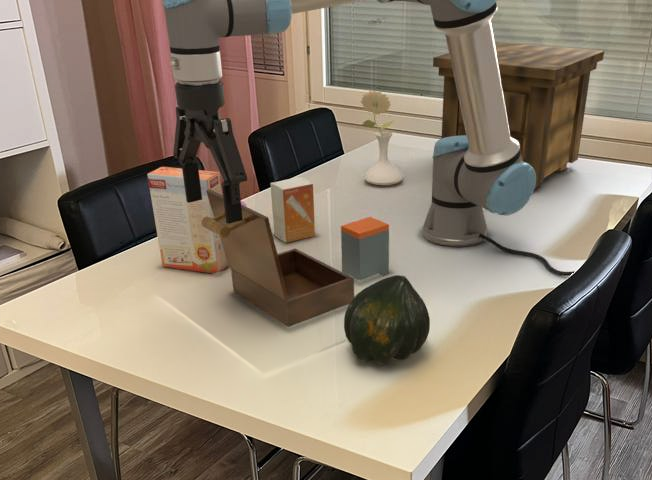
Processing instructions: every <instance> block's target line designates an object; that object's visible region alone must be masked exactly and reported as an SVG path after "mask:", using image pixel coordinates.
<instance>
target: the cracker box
mask: <svg viewBox="0 0 652 480" xmlns="http://www.w3.org/2000/svg"><path fill="white" fill-rule="evenodd" d="M146 175H147V181H148V188H149V193H150V199H151V205H152V211H153V217H154V224H155V229H156V237H157V241H158V242H157V243H158V246H159V247H158V248H159V252H160V259H161V265H162V267H164V268H172V269H178V270H187V271H192V272H193V271H194V272H201V273H207V274H212V275H213V274H216V273H219V272H222V271H224V270H225V269H226V268H229V266H228V262H227V259H226V255H225V252H224V249H223V245H222V242H221V239H220V236H219V235H217V234H215V233H214V232H212V231H210V230H208V229H206V228H205V227H203V226H202V219H203V218H204V217H210V218H213V217H214V215H213V212H212V209H211V205H210V202H209V199H208V195H207V192H206V191H207V190H209V189H210V190H212V191H214V192H217V193H219V194H221V195H223V189H222V185H221V184H222V182H221V181H222V180H221V173H220V171H213V170H212V171H211V170H203V169H202V170H201V169H199V177H200V185H201V193H202V200H199V201H195V202H190V203H188V202H187V200H186V193H185V186H184V178H183V171H182V167H181V168H180V167H171V166H170V167H169V166H159V167H158V168H157V169H155V170H152V171H150V172H148V173H147V174H146Z"/></svg>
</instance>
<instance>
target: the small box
mask: <svg viewBox="0 0 652 480" xmlns="http://www.w3.org/2000/svg"><path fill="white" fill-rule="evenodd" d="M269 185H270V195H271V208H272V209H271V211H272V223H273V235H274V236H275V237H276V238H278V239H279V240H280V241H282V242H284V243H286V244H287V243H291V242H295V241H299V240H304V239H309V238H314V237H316V226H315V225H316V223H315V222H316V221H315V201H314V199H315V198H314V197H315V196H314V183H312V182H310V181H309V180H307V179H305V178H304V177H301V176H298V177H294V178H288V179H282V180H279V181H273V182H270V184H269Z"/></svg>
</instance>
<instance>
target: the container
mask: <svg viewBox="0 0 652 480" xmlns="http://www.w3.org/2000/svg"><path fill="white" fill-rule="evenodd" d="M340 241H341V242H340V243H341V272H342V273H344V274H346V275H348V276H350V277H352V278H354V279H356V280H358V281H362V280H365V279H368V278H370V277H373V276H376V275H380V276H384V275H388V274H389V273H390V224H389V223H387V222H384V221H383V220H381V219H380V220H379V219H377V218H375V217H373V216H368V217H365V218H361V219H358V220H354V221H352V222H349V223H346V224H342V225H340Z"/></svg>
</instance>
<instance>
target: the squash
mask: <svg viewBox="0 0 652 480" xmlns="http://www.w3.org/2000/svg"><path fill="white" fill-rule="evenodd" d="M430 327H431V319H430V313H429V310H428V308H427V305H426V303H425V300H423V298H422V297H421V295H420V294H419V293H418V292H417V290H416V289H415V288H414V286H413V285H412V283H411V282H410V281H409V279H408V278H407V277H406V276H405V275H400V274H399V275H398V274H397V275H396V274H395V275H391V276H388V277H385V278H382V279H381V280H378V281H376V282H374V283H372V284H370V285H368V286H367V287H365V288H363V289H362V290H360V291H359V292H358V293H357V294H355V295H354V299H353V300H352V302H351V303H350V304H348V306H347V309H346V311H345V313H344V317H343V328H344V333H345V337H346V339H347V341H348V342H349V343H350V345H351V348H352V352H353V354H354V355H355V357H356V358H357V359H358V360H360V361H362V362H373V361H375V363H377V364H379V365H387V364H390V362H392V361H393V360H396V361H404V360H406V359H408V358H410V356H411V355H413V354H415V353H417V352H419V350H420V349H421V348H422V347H423V346H424V344H425V343H426V341H427V340H428V336H429V334H430V329H431V328H430Z"/></svg>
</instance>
